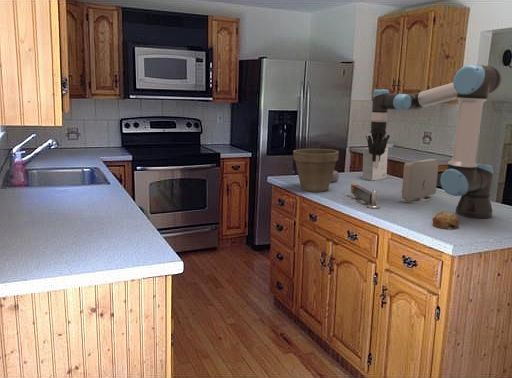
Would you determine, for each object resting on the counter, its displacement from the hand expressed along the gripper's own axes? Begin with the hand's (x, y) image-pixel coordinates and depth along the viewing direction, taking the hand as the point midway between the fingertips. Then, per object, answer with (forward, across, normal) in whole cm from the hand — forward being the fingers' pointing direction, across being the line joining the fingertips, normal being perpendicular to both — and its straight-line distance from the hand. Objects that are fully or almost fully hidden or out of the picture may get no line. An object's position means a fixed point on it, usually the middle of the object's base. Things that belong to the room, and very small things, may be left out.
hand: (375, 167), depth 238 cm
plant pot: (+17, +19, -29) cm, 39 cm away
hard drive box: (+17, -33, -49) cm, 61 cm away
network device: (+16, -21, +9) cm, 28 cm away
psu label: (+16, +7, -5) cm, 18 cm away
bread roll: (+16, +1, +53) cm, 55 cm away
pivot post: (+16, +11, +17) cm, 25 cm away
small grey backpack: (+17, +4, -49) cm, 52 cm away
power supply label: (+16, +9, +7) cm, 20 cm away
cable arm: (+14, +8, +3) cm, 17 cm away
